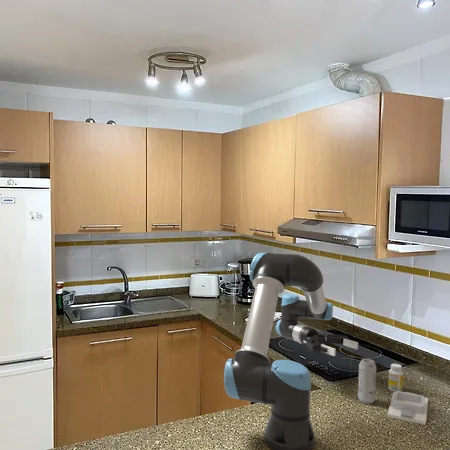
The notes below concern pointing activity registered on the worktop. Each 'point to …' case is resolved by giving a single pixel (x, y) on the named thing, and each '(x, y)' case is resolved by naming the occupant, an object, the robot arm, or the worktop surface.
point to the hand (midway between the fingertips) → (346, 349)
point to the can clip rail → (408, 407)
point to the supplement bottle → (395, 378)
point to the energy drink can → (367, 381)
